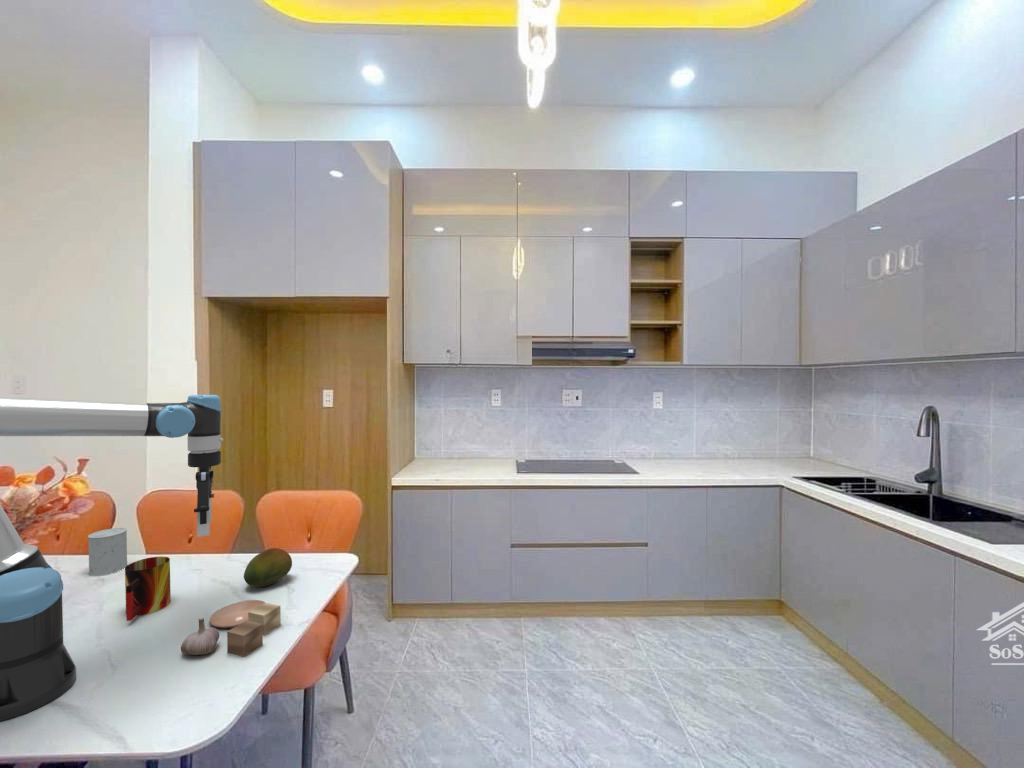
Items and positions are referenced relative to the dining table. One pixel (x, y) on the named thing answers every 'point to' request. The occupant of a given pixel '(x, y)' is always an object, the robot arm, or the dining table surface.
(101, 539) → the grey concrete cylinder
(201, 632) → the garlic bulb
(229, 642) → the walnut block
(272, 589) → the dining table surface
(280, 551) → the fruit
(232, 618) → the peach ellipsoid
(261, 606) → the oak block
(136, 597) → the mug
